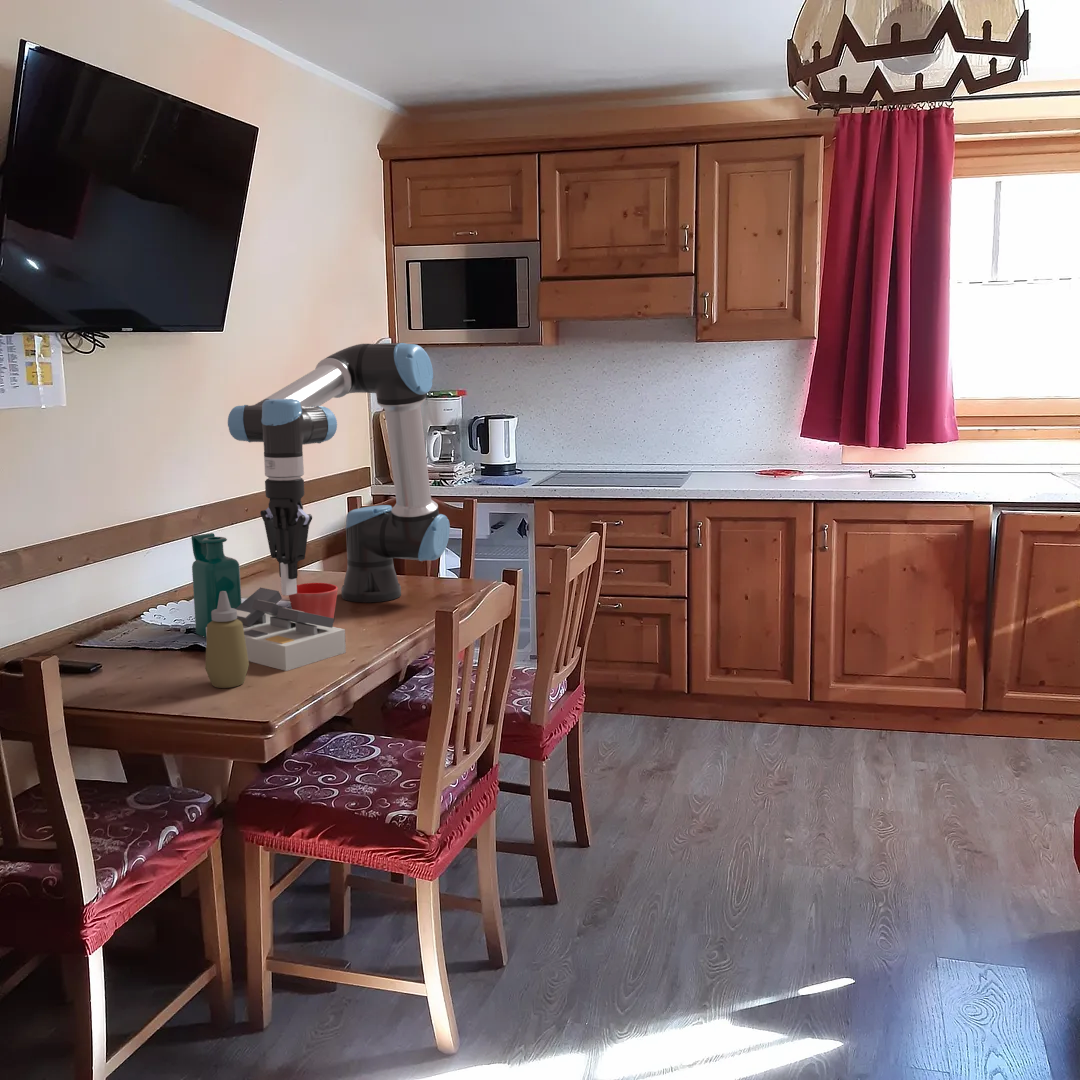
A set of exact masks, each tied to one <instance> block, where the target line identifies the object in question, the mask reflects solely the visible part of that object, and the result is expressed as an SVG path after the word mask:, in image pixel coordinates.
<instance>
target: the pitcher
mask: <svg viewBox="0 0 1080 1080" xmlns="http://www.w3.org/2000/svg"><path fill="white" fill-rule="evenodd" d="M190 539H191V545H192V553H193V557H194V560H195V561H193V563H192V566H191V573H192V574H191V575H192V587H193V589H192V591H193V603H194V605H193V606H194V607H193V608H194V622H195V623H194V625H195V633H196V635H198V636H200V635H201V636H200V637H203V636H204V637H203V638H206V627H207V624H209V623H210V622H211V621H213V620H212V615H211V611H213V610H215V609H217V606H218V600H219V594H220V591H226V592H227V596H228V599H229V603H230V606H231V608H234V609H236V608H237V607H238V606H239V605H240V604H242V603H243V602H242V589H241V585H242V584H241V570H240V569H241V567H240V563H239V562H238V560H237V559H236V558H233V557H230V556H226V555H225V553H224V552H225V551H224V543H225V542H227V541H228V538H227V537H226V536H225V537H224V536H215V534H214V532H210V533H204V534H202V533H201V534H197V535H192V536H191V537H190Z"/></svg>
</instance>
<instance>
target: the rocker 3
mask: <svg viewBox="0 0 1080 1080" xmlns="http://www.w3.org/2000/svg"><path fill="white" fill-rule="evenodd" d="M277 617H280V618H284V619H289V620H293V621H298V622H303V623H309V624H314V625H319V626H325V627H330V628H332V627H334V621H335V618H330V617H325V616H320V615H316V614H311V613H306V612H303V611H298V610H293V609H292V608H288V607H285V608H280V607H279V609H278V614H277Z"/></svg>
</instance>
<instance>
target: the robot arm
mask: <svg viewBox="0 0 1080 1080" xmlns="http://www.w3.org/2000/svg"><path fill="white" fill-rule="evenodd" d="M431 361H432V360H431V358H430V356H429V354H428V353H427V351H425V349H424V348H423V347H422V346H420V345H418V344H416V343H415V344H414V343H405V342H392V343H391V342H390V343H385V342H384V343H383V342H382V343H358V344H355V345H351V346H348V347H346V348H344V349H341V350H339V351H336V352H335V353H332V354H330V355H328V356H326V358H325V357H324V358H323V359H321V360H320V361H319V362H318V363H317V364H316V366H315V369H313V370H312V371H310V372H308V373H307V374H305V375H303V376H302V377H299V378H298V379H296V380H295V381H293V382H291V383H290V384H288V385H286V386H284V387H282V388H281V389H279V390H278V391H275V392H274V393H272V394H271V395H269V396H267V397H265V398H263V399H262V400H260V401H258V402H257V403H255V404H252V405H249V404H244V405H237V406H234V407H233V408H232V409H231V410H230V412H229V414H228V417H227V427H228V432H229V434H230V435H231V437H232V438H233V439H235V440H236V441H239V442H247V443H263V459H264V462H263V463H264V476H265V477H266V479H265V480H264V490H265V491H264V492H265V497H266V498H267V499H269V502H268V507H267V508H266V509H263V510H260V516H261V518H262V520H263V524H264V530H265V533H266V534H265V535H266V540H267V543H268V548H269V549H268V550H269V553H270V557H271V558H272V559H276V560H277V562H278V569H279V570H278V571H279V577H280V587H281V596H288V597H289V595H292V594H296V593H297V585H298V584H297V579H298V576H299V574H298V563H299V562H300V561H303V560H305V559H306V551H307V545H308V536H309V529H310V524H311V522H312V520H313V515H312V514H311V513H309V514H307V513H306V512H305V511H304V505H303V503H302V498H303V497H304V496H305V482H304V481H305V480H304V479H303V478H302V477H303V476H304V474H305V472H304V455H303V445H311V444H312V445H313V444H322V443H324V442H328V441H329V440H331V439H332V438H333V437H334V436H335V434H336V433H337V428H338V422H337V421H338V420H337V418H336V416H335V414H334V412H333V411H332V410H331V409H330V408H328V407H326V406H323V405H324V404H325V403H327V402H328V401H330V400H332V399H333V398H334V399H337V398H339V399H340V398H343V397H345V396H346V395H348V394H352V393H353V394H358V393H359V394H363V393H364V394H365V393H367V394H375V395H376V402H377V405H379V407H381V408H382V409H384V414H385V423H386V431H387V437H388V439H387V440H388V446H389V454H390V461H391V470H392V478H393V486H394V493H395V501H396V503H395V504H394V506H392V505H390V504H380V505H373V506H366V507H360V508H359V507H358V508H355V509H352V510H351V509H350V511H349V512H347V514H346V517H345V518H346V519H345V520H346V521H345V532H346V533H345V534H346V535H345V536H346V557H347V560H346V561H347V569H346V572H345V576H344V579H343V580H344V581H343V584H342V586H341V592H340V593H341V598H342V599H343V600H345V601H349V602H356V603H378V602H380V603H381V602H387V601H391V600H395V599H398V598H400V597H401V596H402V586H401V584H400V583H399V579H398V576H397V573H396V569H395V566H394V559H402V560H413V561H415V560H416V561H419V562H423V561H436V560H438V559H439V558H440V557H442V556H443V554H444V553H445V552H446V551H445V550H446V548H447V545H448V542H449V540H450V531H451V530H450V529H451V528H450V527H451V525H450V520H449V519H448V517H447V516H446V515H445V514H442V513H440V511H439V505H438V503H437V502H436V501H434V500H433V499H432V495H431V494H432V493H431V487H430V479H429V478H430V476H429V469H428V467H429V466H428V460H427V452H426V451H427V450H426V443H425V442H426V441H425V434H424V426H423V416H422V408H421V407H422V404H423V403H424V402H425V401H426V400H427V396H426V394H428V393H429V392H430V390H432V389H431V388H432V387H433V380H434V369H433V365H432V362H431Z"/></svg>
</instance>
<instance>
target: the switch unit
mask: <svg viewBox="0 0 1080 1080" xmlns="http://www.w3.org/2000/svg"><path fill="white" fill-rule="evenodd" d="M243 629H244V636H245V642H246V649H247V655H248V661H249V662H250V663H254V664H258V665H260V666H261V665H262V666H264V667H265V666H266V667H269V668H273V669H278V670H279V671H284V672H287V671H291V670H294V669H297V668H301V667H304V666H308V665H310V664H314V663H316V662H317V663H318V662H319V661H323V660H326V659H330V658H332V657H336V656H339V655H342V654H346V651H347V650H346V649H347V647H346V629H345V628H340V627H335V626H333V627H332V628H330V627H325V626H319V625H314V624H309V623H301V622H296V623H295V622H291V620H288V619H283V618H279V617H275V616H272V615H269V614H266V613H265V614H264V615H263V616H262V617H260V618H259V619H258V620H257V621H256V622H255V623H254V624H252V625H251V626H250V627H248V626H244V625H243ZM205 639H207V627H206V637H205Z"/></svg>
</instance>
